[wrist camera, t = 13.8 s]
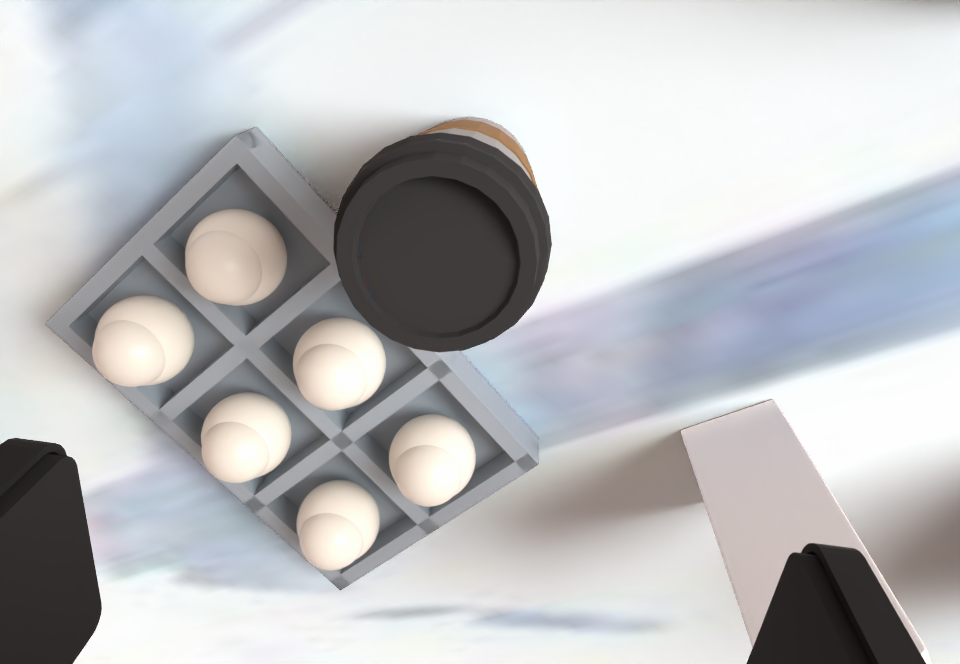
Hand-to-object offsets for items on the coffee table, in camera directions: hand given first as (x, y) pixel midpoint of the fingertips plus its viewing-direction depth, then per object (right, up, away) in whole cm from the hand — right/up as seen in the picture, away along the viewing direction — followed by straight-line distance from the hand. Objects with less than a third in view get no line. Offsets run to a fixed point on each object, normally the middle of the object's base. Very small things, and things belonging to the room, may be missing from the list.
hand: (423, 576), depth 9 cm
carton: (-10, +1, +36) cm, 37 cm away
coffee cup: (0, +12, +30) cm, 32 cm away
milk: (+17, -4, +36) cm, 40 cm away
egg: (-8, -8, +38) cm, 40 cm away
